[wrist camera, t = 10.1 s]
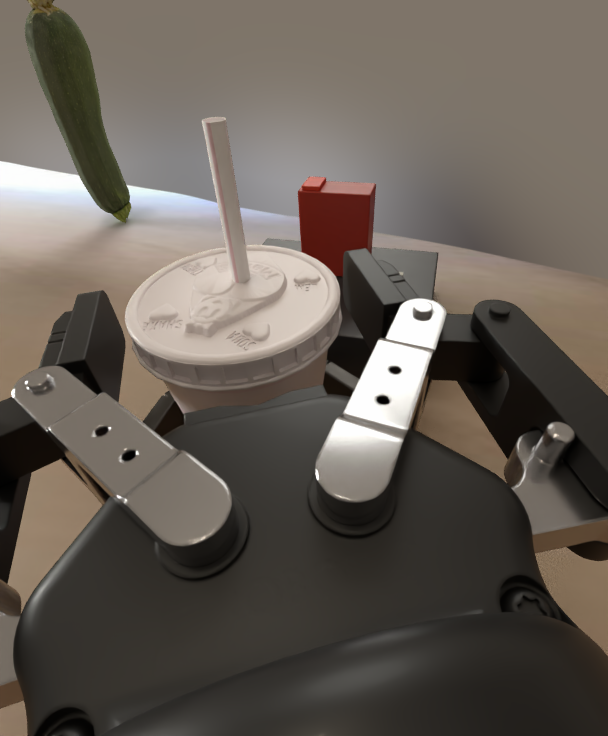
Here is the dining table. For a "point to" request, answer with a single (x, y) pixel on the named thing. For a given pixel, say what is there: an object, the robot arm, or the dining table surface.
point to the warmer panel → (349, 342)
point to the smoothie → (235, 311)
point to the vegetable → (75, 102)
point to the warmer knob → (335, 219)
